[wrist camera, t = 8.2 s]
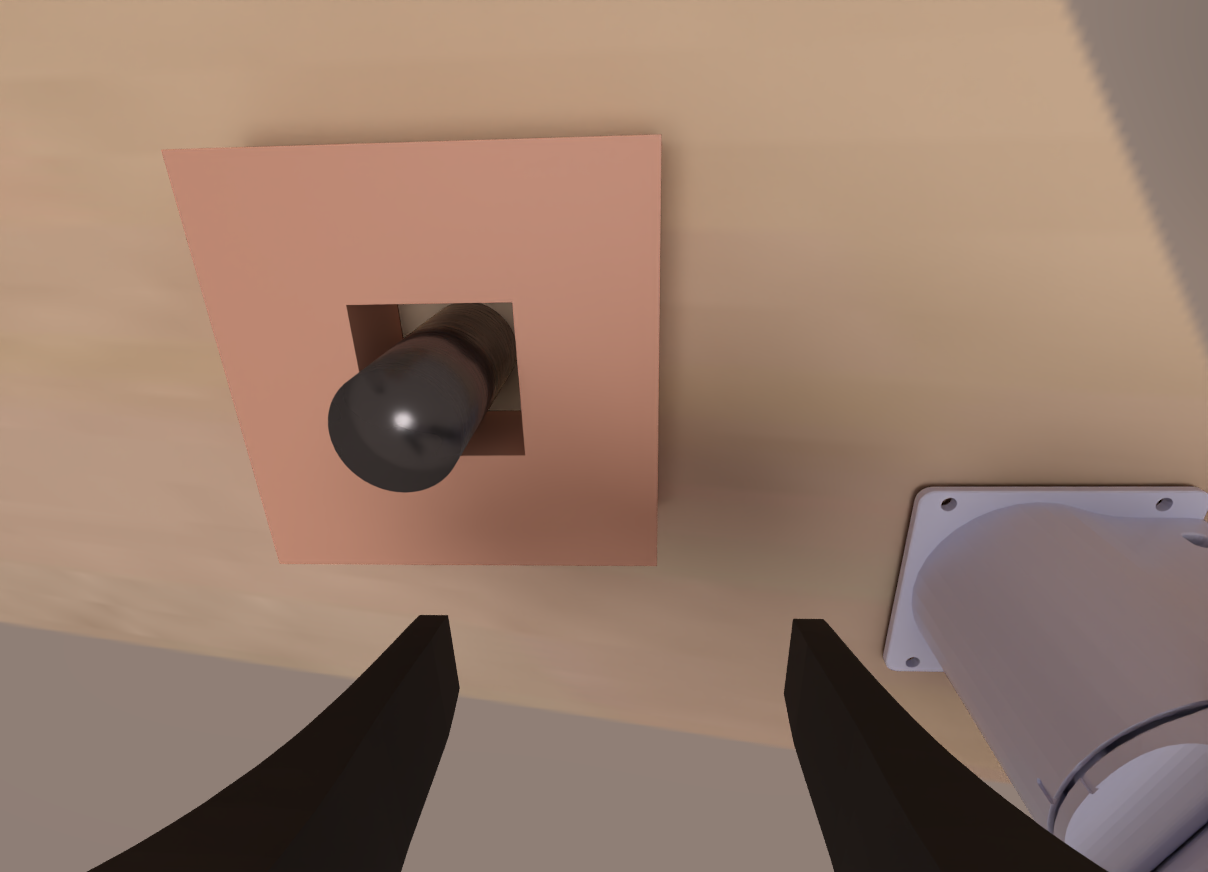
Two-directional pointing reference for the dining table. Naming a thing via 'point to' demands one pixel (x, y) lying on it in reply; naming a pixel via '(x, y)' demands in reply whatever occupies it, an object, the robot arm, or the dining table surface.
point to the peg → (422, 399)
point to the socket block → (441, 275)
